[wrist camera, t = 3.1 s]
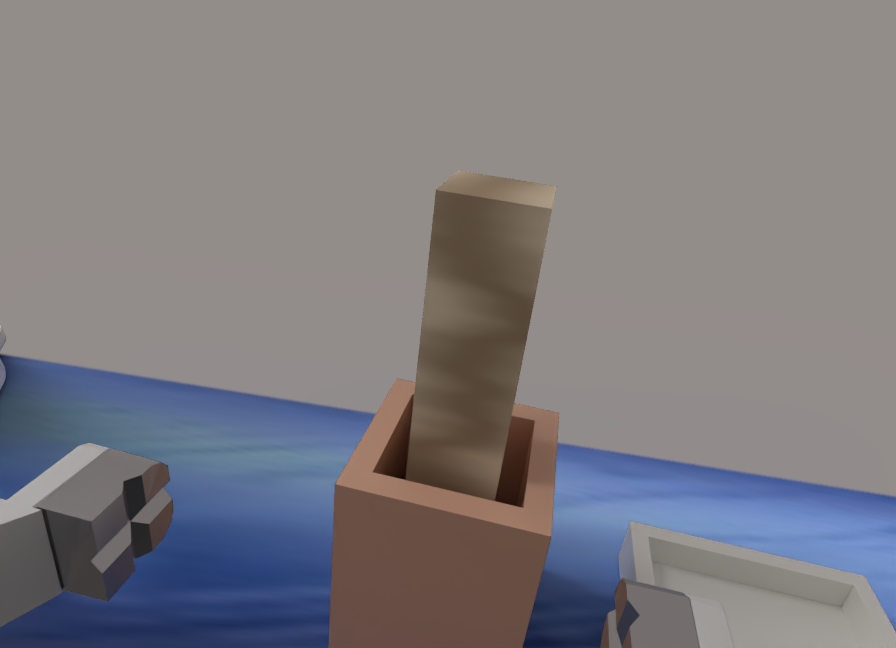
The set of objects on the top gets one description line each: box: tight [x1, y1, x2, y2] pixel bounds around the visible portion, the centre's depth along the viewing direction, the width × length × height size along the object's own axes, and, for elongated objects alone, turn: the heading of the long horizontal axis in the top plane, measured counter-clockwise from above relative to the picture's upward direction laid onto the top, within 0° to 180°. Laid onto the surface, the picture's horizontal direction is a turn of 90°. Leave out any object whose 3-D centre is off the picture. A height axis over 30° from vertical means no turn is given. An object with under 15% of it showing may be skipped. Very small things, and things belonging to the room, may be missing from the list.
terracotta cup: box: [329, 379, 559, 648], centre depth 24 cm, size 7×7×9 cm
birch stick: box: [405, 171, 557, 501], centre depth 22 cm, size 3×3×18 cm
